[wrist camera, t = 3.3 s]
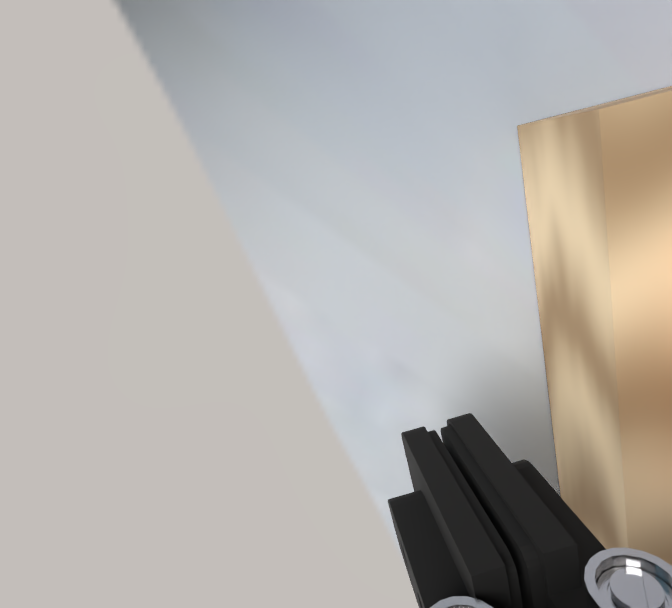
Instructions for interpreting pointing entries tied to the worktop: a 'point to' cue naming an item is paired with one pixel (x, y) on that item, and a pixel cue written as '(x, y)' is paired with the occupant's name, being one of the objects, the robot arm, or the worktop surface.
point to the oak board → (607, 309)
